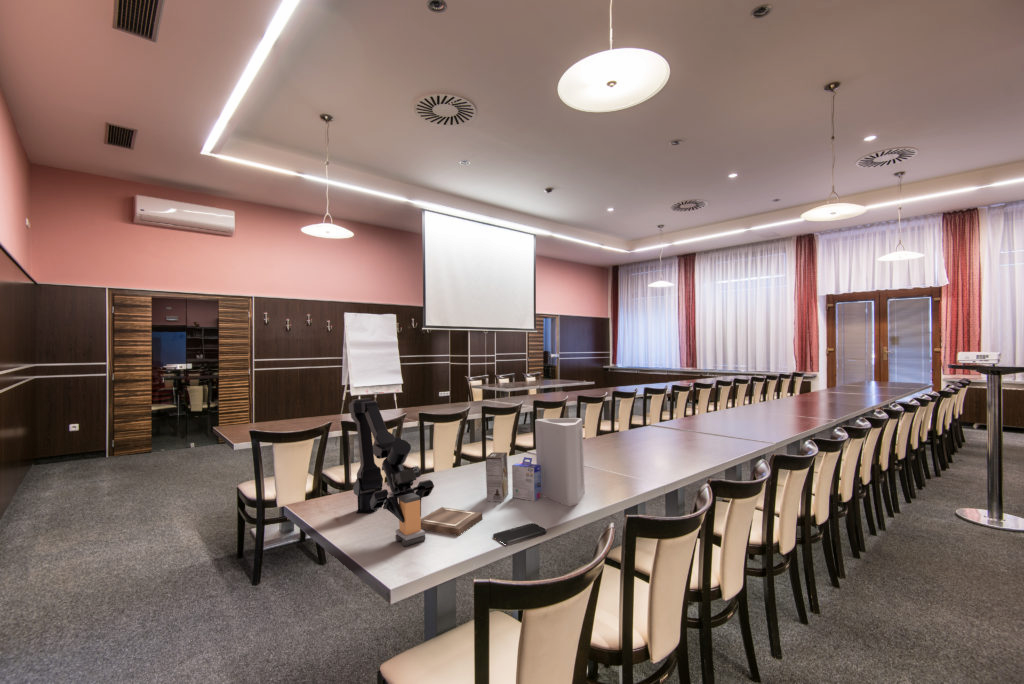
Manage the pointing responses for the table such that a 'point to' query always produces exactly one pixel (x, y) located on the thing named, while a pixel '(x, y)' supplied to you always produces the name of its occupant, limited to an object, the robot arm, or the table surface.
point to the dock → (450, 520)
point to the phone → (520, 533)
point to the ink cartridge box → (526, 480)
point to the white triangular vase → (561, 459)
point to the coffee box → (497, 476)
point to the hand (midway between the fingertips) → (411, 519)
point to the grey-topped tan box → (410, 520)
